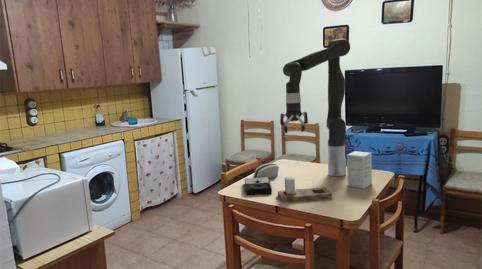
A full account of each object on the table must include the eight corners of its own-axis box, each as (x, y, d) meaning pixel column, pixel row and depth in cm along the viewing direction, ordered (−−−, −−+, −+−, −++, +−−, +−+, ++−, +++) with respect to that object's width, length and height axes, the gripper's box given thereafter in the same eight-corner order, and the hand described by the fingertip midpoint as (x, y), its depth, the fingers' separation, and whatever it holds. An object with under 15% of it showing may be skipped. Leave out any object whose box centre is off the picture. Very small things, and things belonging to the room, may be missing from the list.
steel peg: (293, 196, 178) (292, 177, 176) (295, 199, 174) (294, 179, 172) (285, 197, 177) (284, 177, 176) (286, 200, 173) (286, 180, 172)
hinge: (272, 174, 217) (275, 159, 213) (277, 178, 214) (280, 163, 210) (250, 180, 207) (253, 165, 203) (255, 184, 204) (258, 169, 200)
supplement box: (372, 184, 189) (372, 152, 186) (364, 189, 183) (364, 156, 180) (354, 181, 196) (354, 150, 193) (346, 185, 189) (346, 154, 186)
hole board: (325, 191, 182) (325, 186, 181) (331, 198, 172) (331, 193, 171) (277, 195, 180) (277, 190, 180) (281, 203, 170) (281, 197, 170)
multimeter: (245, 196, 183) (245, 187, 182) (244, 184, 202) (244, 176, 201) (272, 195, 183) (271, 185, 182) (268, 183, 202) (268, 174, 201)
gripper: (304, 100, 194) (305, 130, 197) (278, 102, 193) (279, 132, 196) (308, 101, 187) (309, 132, 189) (281, 103, 186) (282, 134, 188)
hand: (294, 132), depth 193 cm, fingers open, 8 cm apart
